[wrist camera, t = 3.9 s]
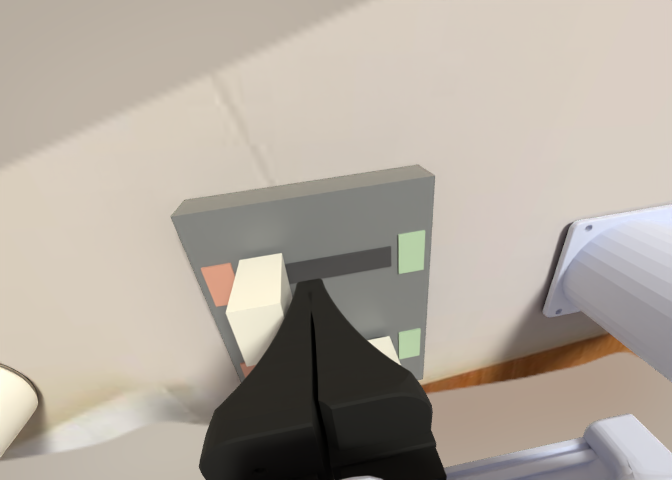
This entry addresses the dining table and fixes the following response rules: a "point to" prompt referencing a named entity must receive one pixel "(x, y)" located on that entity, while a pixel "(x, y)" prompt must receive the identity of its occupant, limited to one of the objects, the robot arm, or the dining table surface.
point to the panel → (325, 249)
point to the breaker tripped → (258, 304)
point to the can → (14, 404)
